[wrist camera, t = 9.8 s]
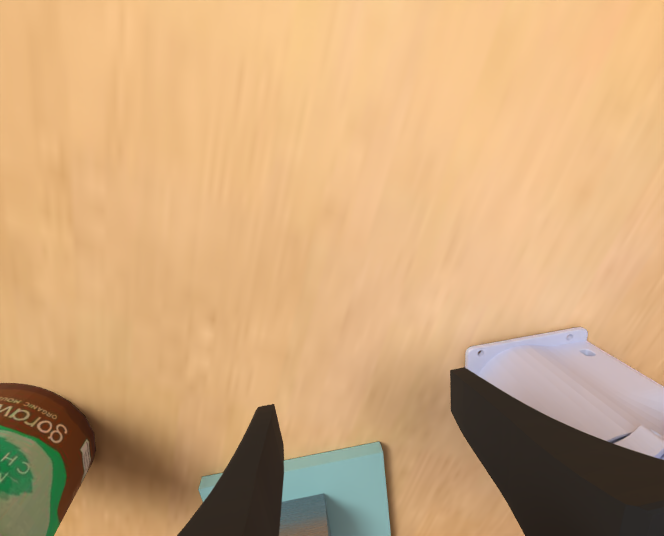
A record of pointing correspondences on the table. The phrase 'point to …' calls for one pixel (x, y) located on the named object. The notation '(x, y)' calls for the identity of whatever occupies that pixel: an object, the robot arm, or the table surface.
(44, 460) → the food container
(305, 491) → the teal board
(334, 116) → the table surface
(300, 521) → the block
